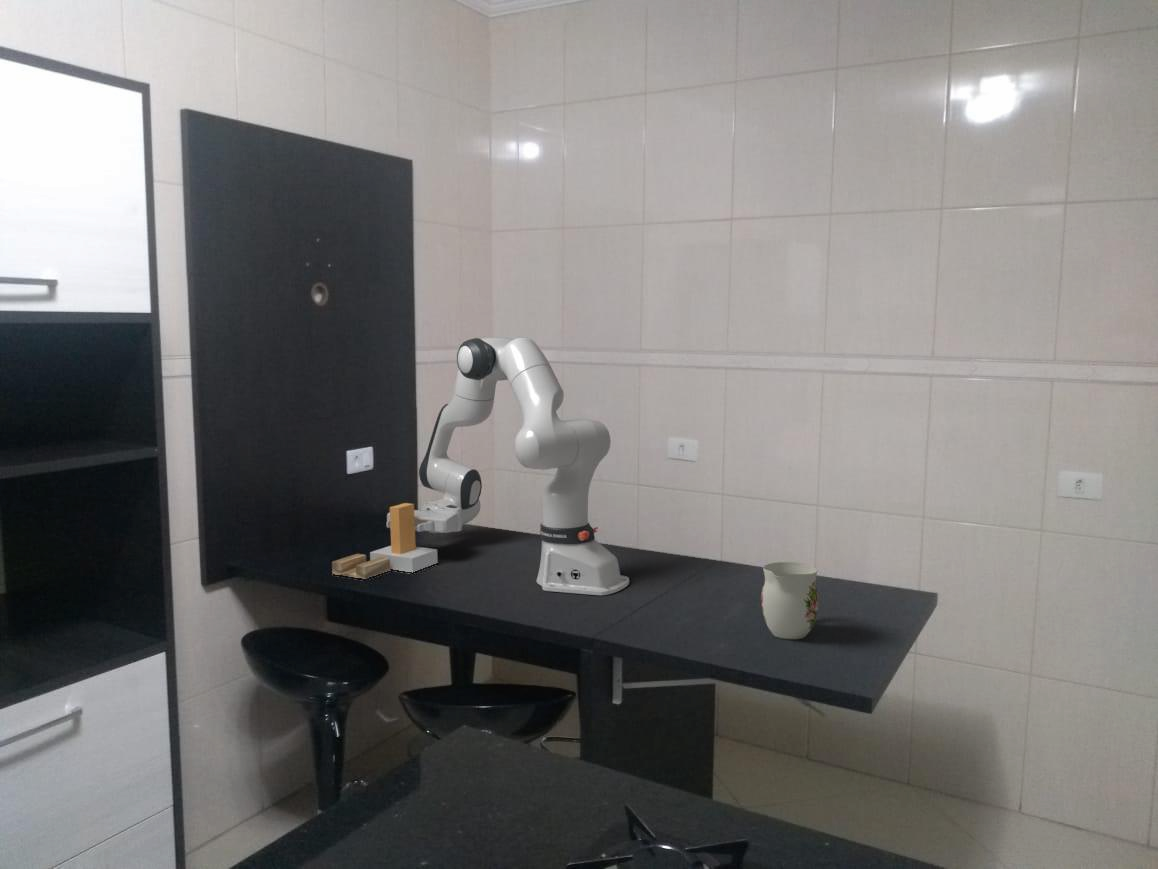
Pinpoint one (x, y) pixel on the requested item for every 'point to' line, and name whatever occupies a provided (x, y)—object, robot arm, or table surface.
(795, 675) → the table surface
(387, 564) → the rack
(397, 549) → the orange rectangular block
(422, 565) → the block
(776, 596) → the pitcher
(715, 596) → the table surface
